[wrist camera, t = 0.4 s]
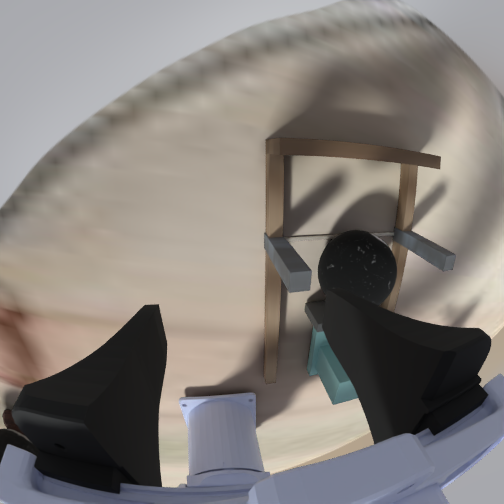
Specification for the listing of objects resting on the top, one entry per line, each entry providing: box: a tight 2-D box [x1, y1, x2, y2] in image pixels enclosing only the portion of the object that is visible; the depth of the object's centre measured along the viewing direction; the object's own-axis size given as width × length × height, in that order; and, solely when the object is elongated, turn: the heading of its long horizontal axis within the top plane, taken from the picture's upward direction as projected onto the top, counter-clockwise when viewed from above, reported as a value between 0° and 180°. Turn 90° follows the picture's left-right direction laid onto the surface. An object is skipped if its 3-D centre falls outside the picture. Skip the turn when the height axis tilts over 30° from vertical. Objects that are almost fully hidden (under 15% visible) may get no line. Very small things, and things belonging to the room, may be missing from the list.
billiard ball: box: [318, 230, 397, 306], centre depth 20 cm, size 6×6×6 cm
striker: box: [305, 301, 358, 405], centre depth 23 cm, size 8×6×6 cm
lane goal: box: [264, 138, 456, 384], centre depth 20 cm, size 22×13×7 cm, turn 1°
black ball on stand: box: [0, 409, 39, 464], centre depth 20 cm, size 13×13×15 cm
